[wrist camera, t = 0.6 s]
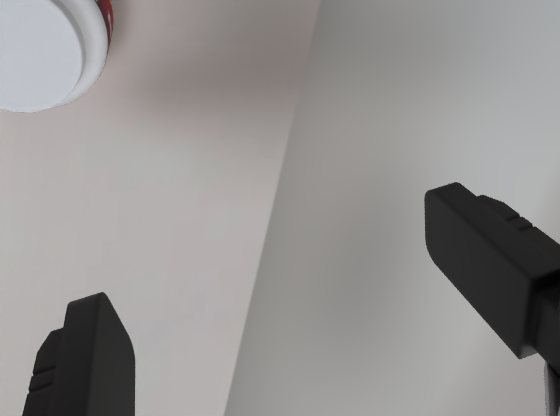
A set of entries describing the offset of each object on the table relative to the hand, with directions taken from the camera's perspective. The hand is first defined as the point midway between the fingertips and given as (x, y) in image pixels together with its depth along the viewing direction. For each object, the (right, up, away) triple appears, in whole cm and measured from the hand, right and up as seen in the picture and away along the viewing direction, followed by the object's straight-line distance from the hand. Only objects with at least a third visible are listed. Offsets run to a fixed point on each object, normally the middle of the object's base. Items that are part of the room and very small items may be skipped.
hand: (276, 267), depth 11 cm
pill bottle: (-12, +13, +15) cm, 23 cm away
